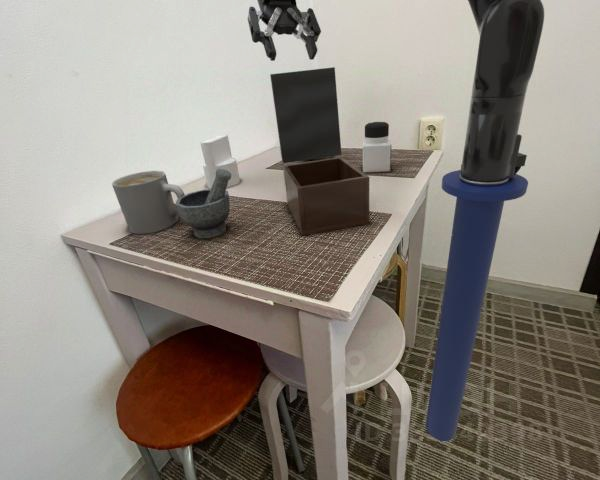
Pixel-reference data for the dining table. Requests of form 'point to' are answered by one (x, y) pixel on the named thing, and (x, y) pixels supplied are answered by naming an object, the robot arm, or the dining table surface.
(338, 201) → the open box
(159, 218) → the coffee mug
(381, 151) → the medicine bottle
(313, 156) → the dark grey box lid
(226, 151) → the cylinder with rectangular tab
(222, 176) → the mortar and pestle
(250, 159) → the dining table surface
